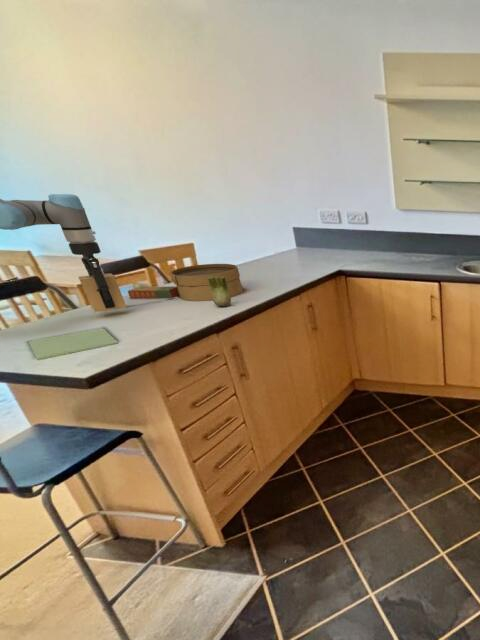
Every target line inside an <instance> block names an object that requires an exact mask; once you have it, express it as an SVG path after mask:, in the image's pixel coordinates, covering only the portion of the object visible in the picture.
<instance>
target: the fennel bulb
mask: <svg viewBox="0 0 480 640" xmlns="http://www.w3.org/2000/svg"><path fill="white" fill-rule="evenodd" d="M221 279H222V283H221V280H220V277H217V278H216V280H217V282H216V280H215V277H212V278H208V281H209V283H210V286H211V290H212V297H213V300H212V301H213V303H214V305H215V306H217V307H229V306H230V305H231V303H232V297H230V293H229V290H228V287H227V284H226V280H225V278H221ZM212 280H213V281H212ZM217 283H218V285H217ZM222 284H223V286H222ZM218 286H219V287H218Z"/></svg>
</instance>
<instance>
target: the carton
mask: <svg viewBox="0 0 480 640" xmlns="http://www.w3.org/2000/svg"><path fill="white" fill-rule="evenodd" d="M127 294H128V296H129V299H130V300H137V299H138V300H141V299H142V300H143V299H144V300H145V299H146V300H147V299H150V300H151V299H165V300H166V301H171V300H174V299H175V297H177V298H178V297H179V298H180V295H179V292H178V289H177V286H138V287H135V288H132V289H129V290H127Z"/></svg>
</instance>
